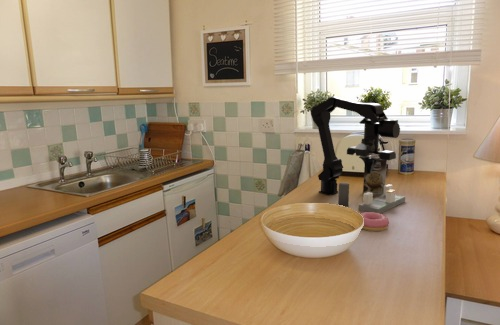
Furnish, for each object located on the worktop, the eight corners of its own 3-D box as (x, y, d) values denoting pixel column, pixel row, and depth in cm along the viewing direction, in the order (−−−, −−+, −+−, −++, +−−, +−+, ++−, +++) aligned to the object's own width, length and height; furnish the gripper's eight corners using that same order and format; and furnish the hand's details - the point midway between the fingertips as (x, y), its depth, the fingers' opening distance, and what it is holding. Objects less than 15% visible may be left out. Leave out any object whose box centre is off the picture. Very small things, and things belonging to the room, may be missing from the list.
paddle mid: (385, 202, 144) (386, 191, 143) (389, 200, 146) (390, 189, 145) (390, 203, 142) (390, 192, 141) (394, 201, 144) (395, 190, 144)
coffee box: (362, 194, 162) (364, 158, 159) (363, 190, 168) (365, 155, 165) (384, 196, 159) (386, 159, 155) (385, 192, 164) (387, 157, 161)
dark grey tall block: (336, 205, 148) (336, 184, 146) (341, 203, 150) (342, 182, 148) (344, 207, 145) (345, 185, 143) (350, 205, 147) (351, 183, 145)
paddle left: (362, 203, 142) (363, 193, 141) (367, 201, 144) (368, 191, 143) (367, 204, 140) (368, 194, 140) (372, 202, 143) (373, 192, 142)
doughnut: (389, 234, 119) (390, 222, 118) (354, 231, 122) (354, 219, 121) (388, 222, 129) (389, 211, 128) (355, 219, 132) (356, 208, 131)
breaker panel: (358, 209, 142) (358, 204, 142) (386, 197, 157) (386, 192, 156) (377, 214, 137) (378, 209, 136) (404, 201, 151) (405, 196, 151)
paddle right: (383, 195, 152) (384, 185, 152) (387, 193, 155) (388, 184, 154) (388, 196, 151) (388, 186, 150) (392, 194, 153) (392, 185, 153)
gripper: (339, 135, 147) (338, 173, 150) (383, 140, 134) (380, 181, 137) (354, 132, 154) (353, 168, 158) (397, 137, 141) (395, 176, 144)
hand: (369, 173), depth 149 cm, fingers closed
